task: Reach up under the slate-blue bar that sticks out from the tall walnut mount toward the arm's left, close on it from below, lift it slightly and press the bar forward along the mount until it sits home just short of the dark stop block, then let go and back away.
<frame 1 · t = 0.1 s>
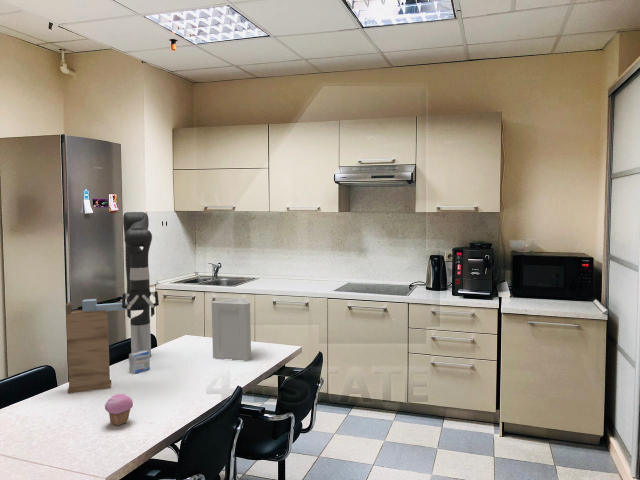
hand: (141, 317, 206), 29 cm above the table, tool pointing down, fingers open, 8 cm apart
medicine box: (139, 371, 229), on the table
cupcake: (119, 423, 172), on the table
bar: (101, 310, 207), point 32 cm above the table, touching mount
grey box: (236, 356, 251), on the table
mount: (90, 388, 207), on the table
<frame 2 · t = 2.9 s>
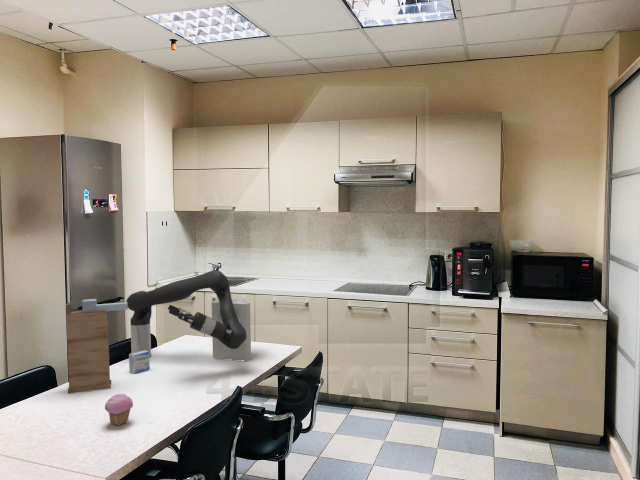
hand: (169, 308, 214), 31 cm above the table, tool pointing upward, fingers open, 8 cm apart
nothing on the table moved.
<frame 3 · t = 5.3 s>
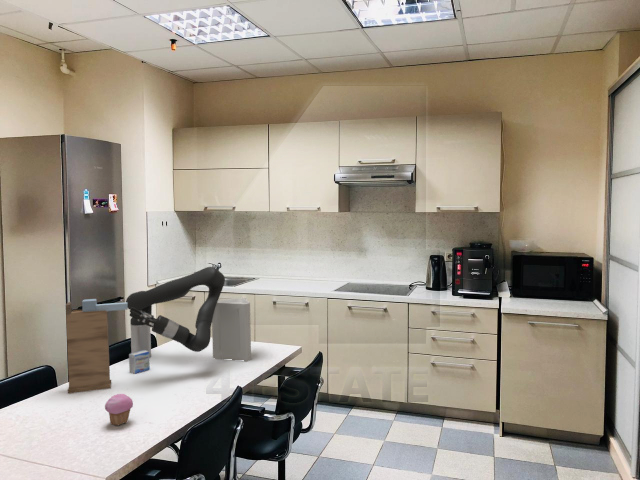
hand: (130, 311, 211), 31 cm above the table, tool pointing upward, fingers open, 8 cm apart
nothing on the table moved.
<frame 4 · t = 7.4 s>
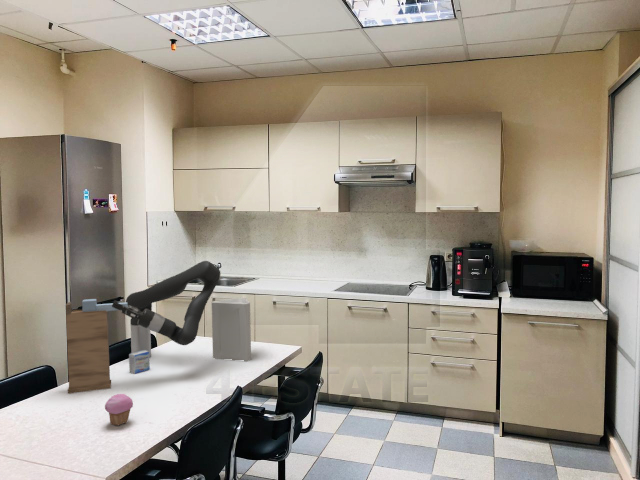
hand: (113, 303, 208), 35 cm above the table, tool pointing upward, fingers closed on bar, 2 cm apart
bar: (101, 310, 207), point 32 cm above the table, touching gripper, mount
everything else where it was.
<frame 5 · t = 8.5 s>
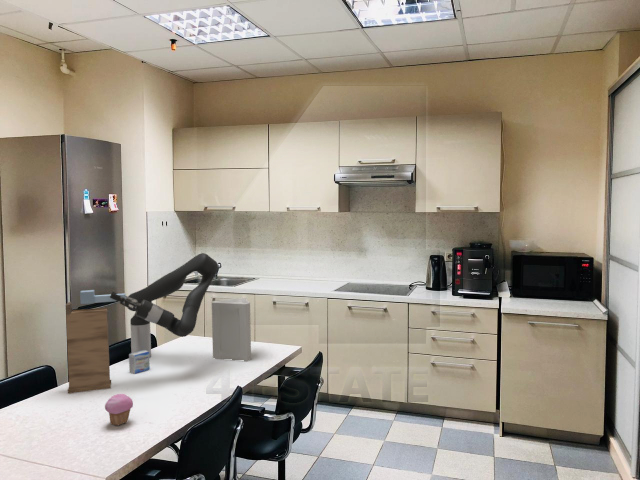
hand: (111, 294, 208), 39 cm above the table, tool pointing upward, fingers closed on bar, 2 cm apart
bar: (99, 301, 207), point 36 cm above the table, touching gripper
everything else where it was.
when the fingers open (36 cm above the table, at t = 9.8 s): bar drops 1 cm, resting on mount.
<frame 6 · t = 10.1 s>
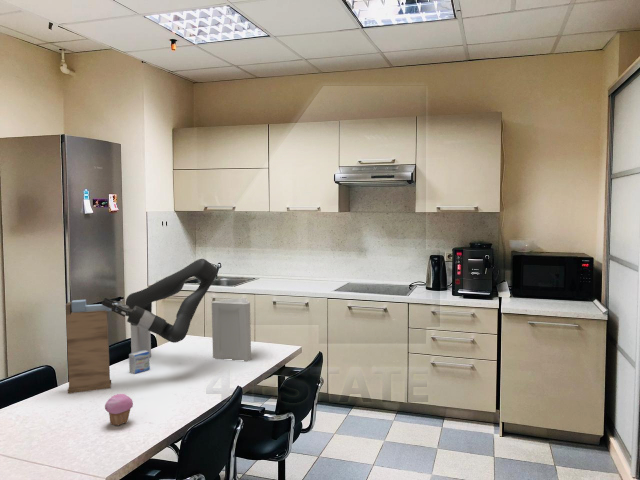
hand: (103, 300, 207), 36 cm above the table, tool pointing upward, fingers open, 4 cm apart
bar: (91, 311, 206), point 32 cm above the table, touching mount
everything else where it was.
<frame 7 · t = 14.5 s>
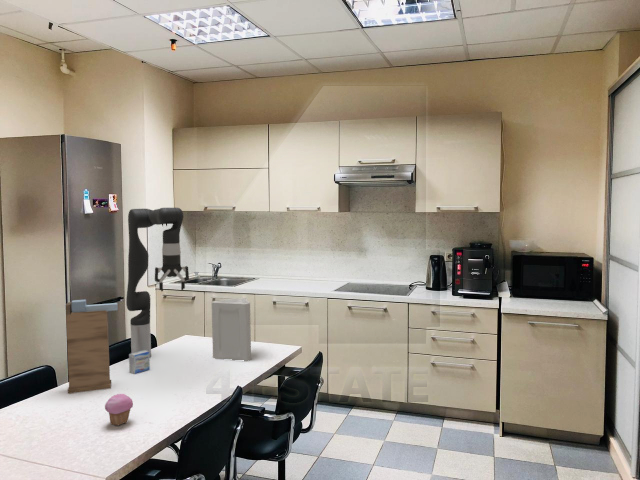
hand: (172, 290, 218), 38 cm above the table, tool pointing down, fingers open, 8 cm apart
nothing on the table moved.
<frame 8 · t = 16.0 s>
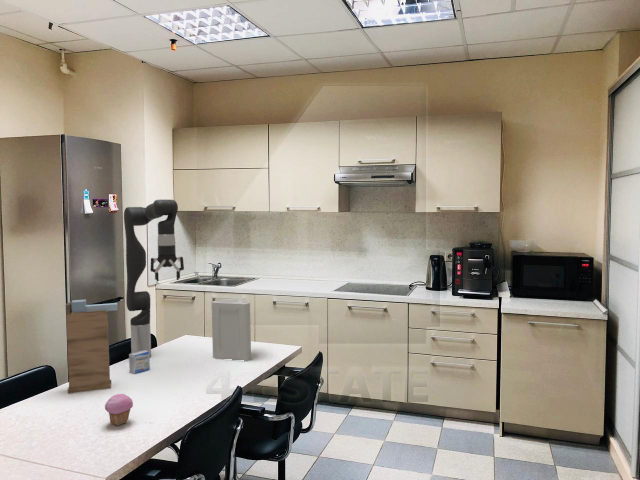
hand: (167, 280, 223), 42 cm above the table, tool pointing down, fingers open, 8 cm apart
nothing on the table moved.
at the end: bar 0.4 cm from the target spot, point 32.0 cm above the table; bar touching mount; the gripper is holding nothing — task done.
